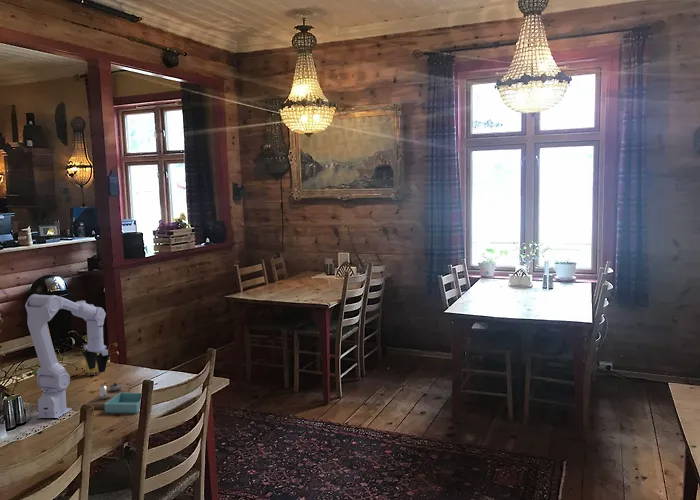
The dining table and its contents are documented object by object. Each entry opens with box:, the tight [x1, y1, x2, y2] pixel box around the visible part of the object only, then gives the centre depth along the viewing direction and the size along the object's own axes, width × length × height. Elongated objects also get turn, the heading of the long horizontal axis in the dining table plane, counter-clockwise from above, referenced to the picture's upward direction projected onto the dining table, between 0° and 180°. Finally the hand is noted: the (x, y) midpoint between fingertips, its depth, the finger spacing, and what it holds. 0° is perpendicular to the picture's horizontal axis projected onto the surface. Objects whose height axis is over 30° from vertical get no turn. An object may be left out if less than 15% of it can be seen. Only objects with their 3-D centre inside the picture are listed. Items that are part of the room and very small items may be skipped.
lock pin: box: [99, 384, 108, 401], centre depth 215 cm, size 2×2×7 cm
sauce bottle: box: [84, 341, 101, 377], centre depth 251 cm, size 7×6×20 cm
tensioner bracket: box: [86, 382, 131, 410], centre depth 219 cm, size 18×8×5 cm, turn 176°
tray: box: [104, 392, 142, 415], centre depth 212 cm, size 12×12×4 cm
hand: (96, 370), depth 226 cm, fingers open, 7 cm apart
